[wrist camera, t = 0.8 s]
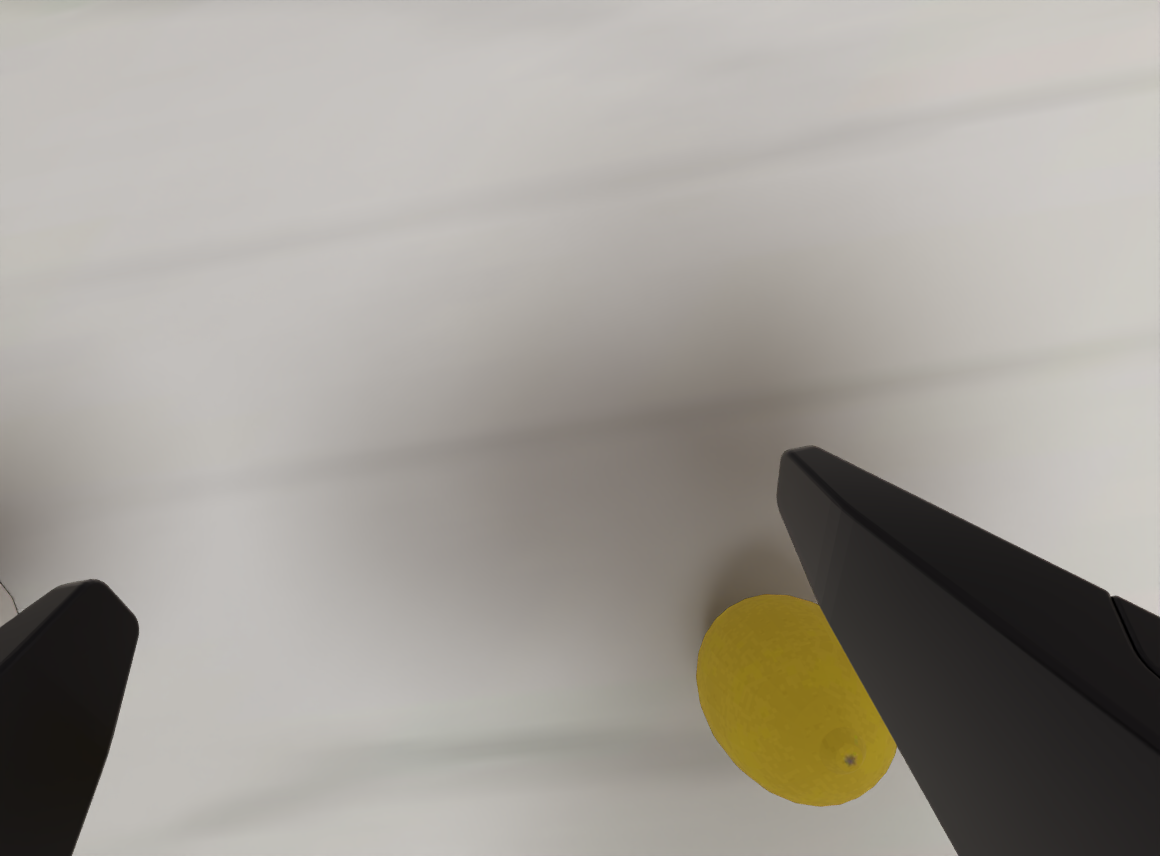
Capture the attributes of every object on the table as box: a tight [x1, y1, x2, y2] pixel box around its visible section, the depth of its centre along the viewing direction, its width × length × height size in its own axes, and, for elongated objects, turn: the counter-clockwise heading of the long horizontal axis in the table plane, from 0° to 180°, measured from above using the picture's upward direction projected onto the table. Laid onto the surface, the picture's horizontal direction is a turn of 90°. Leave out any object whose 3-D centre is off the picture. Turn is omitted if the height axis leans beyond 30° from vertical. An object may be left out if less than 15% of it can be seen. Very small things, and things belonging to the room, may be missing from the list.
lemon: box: [696, 594, 897, 806], centre depth 18 cm, size 6×6×8 cm
